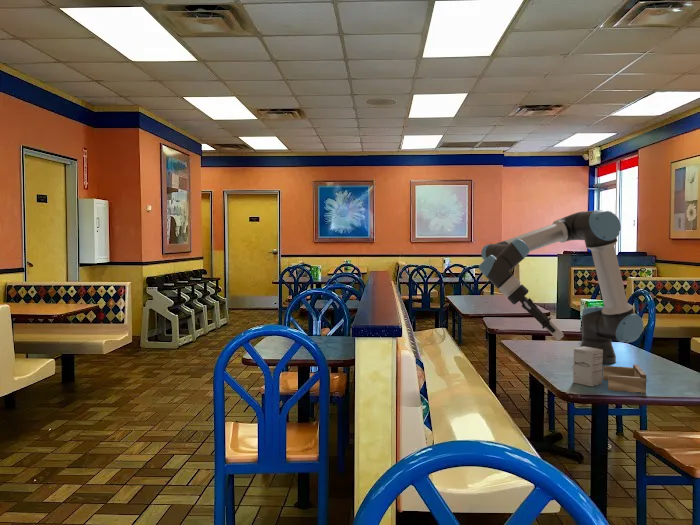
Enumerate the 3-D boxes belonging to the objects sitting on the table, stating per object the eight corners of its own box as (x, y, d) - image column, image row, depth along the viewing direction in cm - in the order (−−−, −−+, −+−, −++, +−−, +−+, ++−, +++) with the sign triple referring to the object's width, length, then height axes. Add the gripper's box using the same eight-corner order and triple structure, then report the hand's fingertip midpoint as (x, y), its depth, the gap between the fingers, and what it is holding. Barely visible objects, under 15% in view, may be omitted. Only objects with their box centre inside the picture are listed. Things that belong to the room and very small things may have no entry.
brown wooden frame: (603, 379, 213) (603, 362, 213) (637, 381, 210) (637, 364, 209) (608, 390, 197) (608, 372, 197) (645, 393, 194) (646, 374, 193)
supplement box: (572, 383, 208) (572, 348, 207) (583, 380, 212) (584, 345, 212) (591, 387, 202) (591, 351, 201) (602, 384, 206) (603, 348, 206)
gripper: (507, 295, 223) (552, 340, 218) (505, 299, 206) (553, 348, 202) (522, 281, 221) (567, 326, 217) (520, 285, 204) (570, 333, 200)
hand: (560, 337), depth 209 cm, fingers open, 4 cm apart
